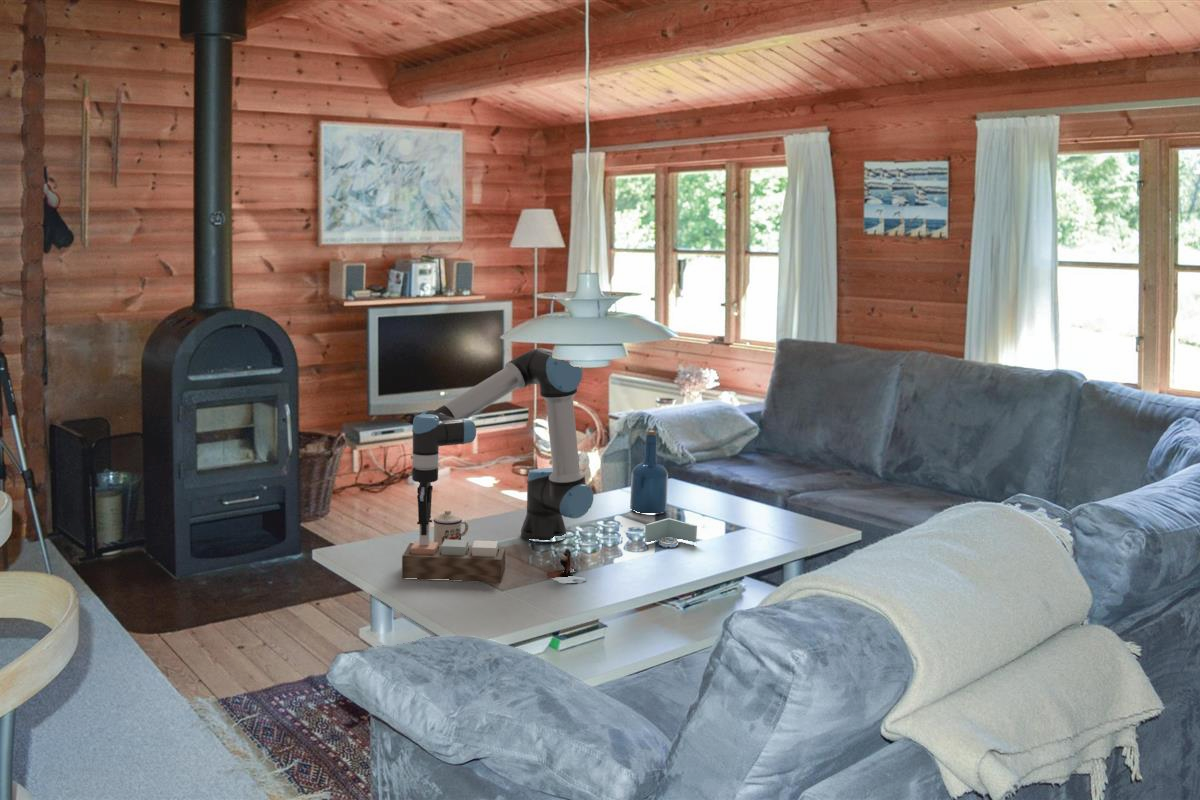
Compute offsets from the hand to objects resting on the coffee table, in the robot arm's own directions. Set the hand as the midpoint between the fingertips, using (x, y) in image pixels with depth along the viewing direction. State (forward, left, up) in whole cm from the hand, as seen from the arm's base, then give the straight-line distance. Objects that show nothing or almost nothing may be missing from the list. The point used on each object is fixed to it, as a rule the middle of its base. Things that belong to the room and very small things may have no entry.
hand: (424, 544), depth 345 cm
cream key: (-18, 0, -4) cm, 19 cm away
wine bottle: (-69, -79, -9) cm, 105 cm away
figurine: (-43, -2, -9) cm, 44 cm away
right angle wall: (-75, -38, -10) cm, 85 cm away
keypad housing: (-9, 0, -9) cm, 13 cm away
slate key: (-9, 0, -4) cm, 10 cm away
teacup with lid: (-4, -29, -9) cm, 31 cm away
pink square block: (0, 0, -5) cm, 5 cm away
